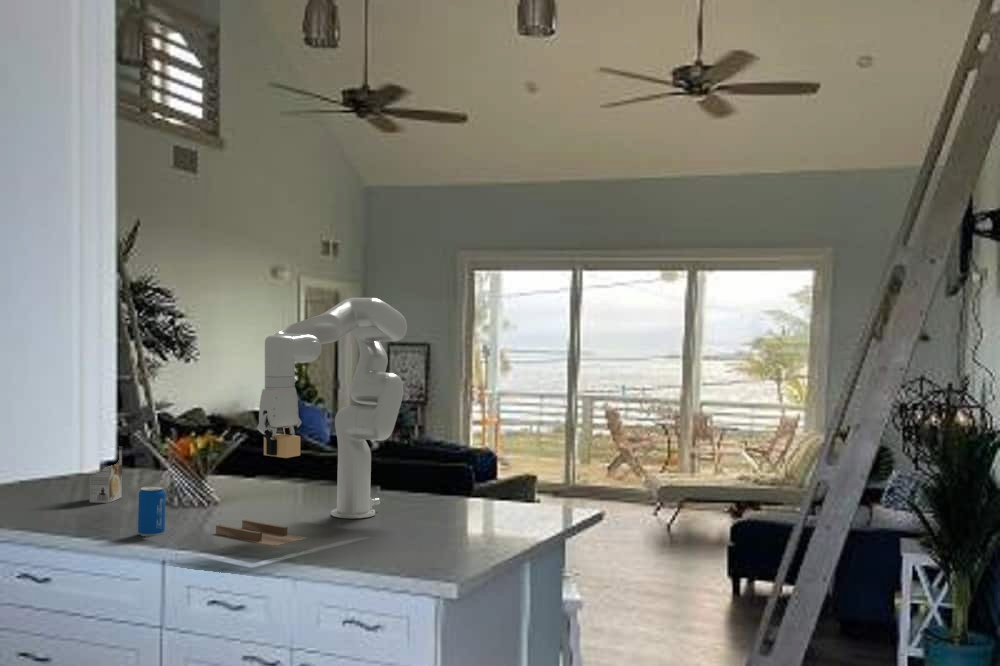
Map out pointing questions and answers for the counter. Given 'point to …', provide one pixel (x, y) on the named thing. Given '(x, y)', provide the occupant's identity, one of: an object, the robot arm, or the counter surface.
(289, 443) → the block
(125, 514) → the counter surface
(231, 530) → the brown piece
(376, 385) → the robot arm
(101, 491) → the coffee box
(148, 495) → the beverage can
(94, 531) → the counter surface
